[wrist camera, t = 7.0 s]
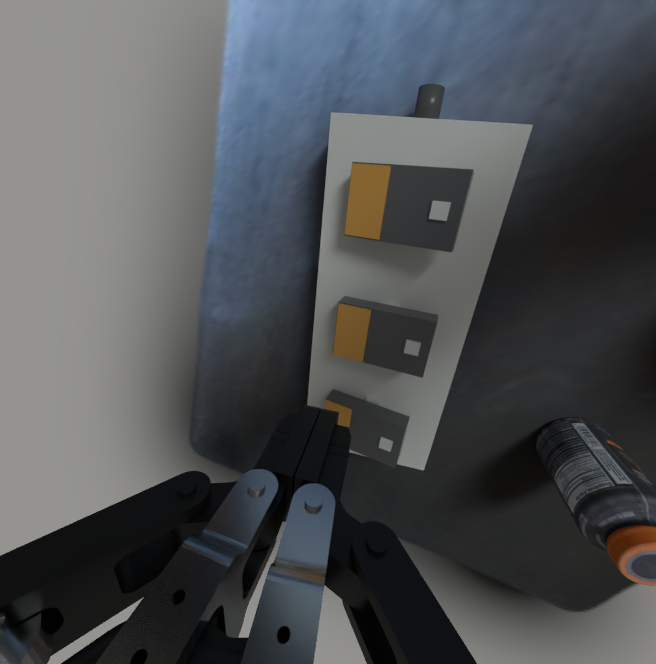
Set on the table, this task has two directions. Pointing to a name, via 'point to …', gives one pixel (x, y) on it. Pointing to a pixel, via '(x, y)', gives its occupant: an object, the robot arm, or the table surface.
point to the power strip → (410, 256)
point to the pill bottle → (603, 493)
